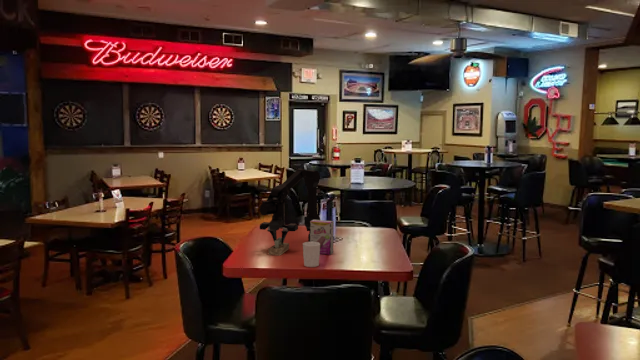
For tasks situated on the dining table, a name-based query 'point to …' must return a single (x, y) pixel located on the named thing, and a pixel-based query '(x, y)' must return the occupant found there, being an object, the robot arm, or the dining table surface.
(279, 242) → the clip
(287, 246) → the brown block with holes
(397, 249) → the dining table surface
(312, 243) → the white cup
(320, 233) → the candy bar box
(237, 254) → the dining table surface
